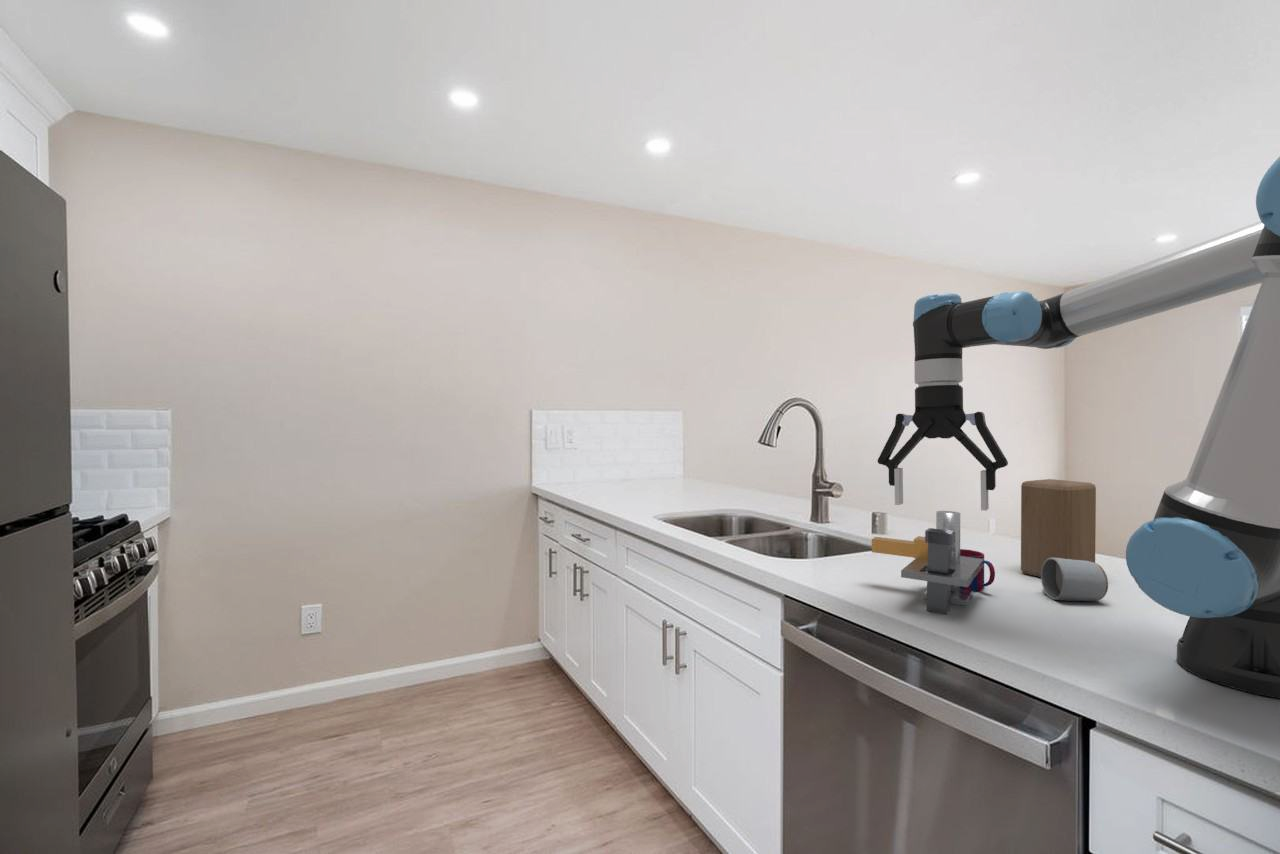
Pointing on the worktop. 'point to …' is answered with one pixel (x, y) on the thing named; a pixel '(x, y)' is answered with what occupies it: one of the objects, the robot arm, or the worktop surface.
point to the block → (1056, 522)
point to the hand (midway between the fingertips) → (940, 506)
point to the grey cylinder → (1073, 580)
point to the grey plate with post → (917, 569)
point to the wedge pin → (939, 568)
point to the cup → (979, 579)
